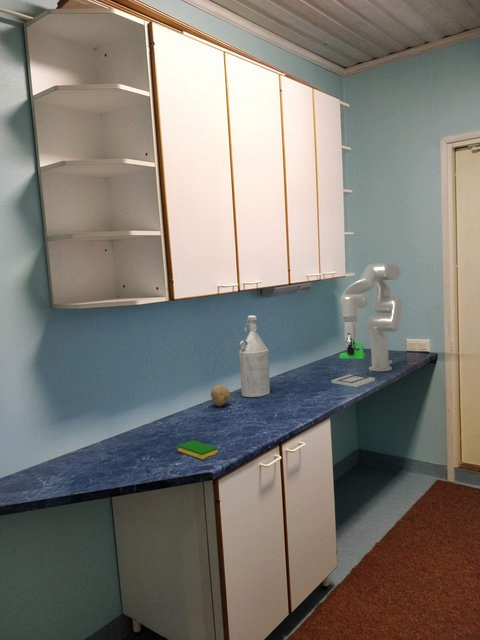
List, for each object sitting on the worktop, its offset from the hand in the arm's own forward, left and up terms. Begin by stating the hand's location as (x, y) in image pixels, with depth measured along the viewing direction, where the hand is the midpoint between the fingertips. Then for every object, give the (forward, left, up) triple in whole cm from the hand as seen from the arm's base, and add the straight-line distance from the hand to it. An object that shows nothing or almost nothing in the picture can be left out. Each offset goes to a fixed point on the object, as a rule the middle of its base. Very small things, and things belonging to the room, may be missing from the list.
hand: (351, 353), depth 265 cm
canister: (+47, -25, -15) cm, 55 cm away
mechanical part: (0, 0, -2) cm, 2 cm away
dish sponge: (+115, +17, -16) cm, 117 cm away
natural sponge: (+71, -23, -15) cm, 76 cm away
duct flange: (0, 0, -15) cm, 15 cm away
